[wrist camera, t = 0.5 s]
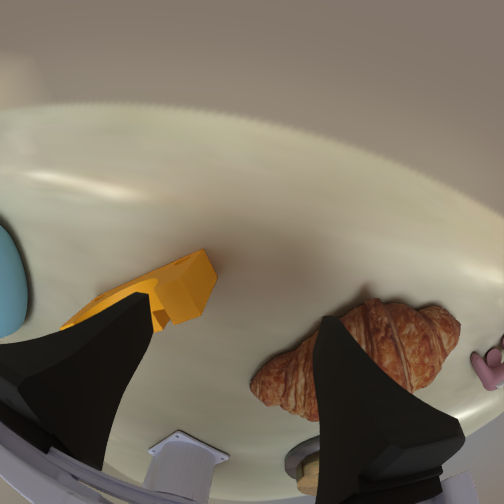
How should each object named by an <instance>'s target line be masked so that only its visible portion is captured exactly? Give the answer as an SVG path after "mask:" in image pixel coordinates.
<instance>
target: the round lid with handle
mask: <svg viewBox="0 0 504 504" xmlns="http://www.w3.org/2000/svg"><path fill="white" fill-rule="evenodd" d="M319 454H320V451H319V452H317V453H314V454H312V455H310V456H308V457H307V458H305V459H304V460H302V461H301V462H300V463H299V464H298V466H297V467H296V482H297V487H298V490H299V491H300V492H302V493H304V494H307V495H314V496H316V494H317V486H318V473H319Z"/></svg>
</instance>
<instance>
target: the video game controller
mask: <svg viewBox="0 0 504 504" xmlns="http://www.w3.org/2000/svg"><path fill="white" fill-rule="evenodd" d="M502 348H503V349H504V338H503V340H502ZM501 359H502V357H501V352H500V351H499V350H498V349H493V350H491V351H489V352H488V354H487V356H486V363H485V362H484V360H483V359H482V358H481V357H480V356H479V355H478V354H475V353H473V354H472V356H471V361H472V365H473V367H474V370H475V371H476V373H477V375H478V377H479V379H480V380H481V382H482V384H483V386H484V388H485V389H486V390H489V391H492V390H496V389H498V388H500V387H503V386H504V362H503V363H502V364H501Z"/></svg>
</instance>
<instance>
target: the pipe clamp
mask: <svg viewBox="0 0 504 504" xmlns="http://www.w3.org/2000/svg"><path fill="white" fill-rule="evenodd" d="M217 278H218V277H217V275H216V273H215V271H214V269H213V267H212V265H211V263H210V261H209V259H208V257H207V255H206V253H205V251H204V249H201V250H199V251H197V252H194V253H192V254H190V255H188V256H185V257H183V258H181V259H179V260H176V261H174V262H172V263H170V264H167V265H165V266H163V267H161V268H158V269H156V270H154V271H152V272H149V273H147V274H145V275H143V276H141V277H138V278H136V279H134V280H132V281H130V282H127V283H125V284H123V285H121V286H119V287H117V288H114V289H112V290H110V291H108V292H106V293H104V294H102V295H99V296H97V297H96V298H95V299H93V300H92V301H91V302H90V303H89V304H87V305H86V306H85V307H84V308H83V309H81V310H80V311H79V312H78V313H77V314H75V315H74V316H73V317H72V318H71V319H70V320H68V321H67V322H66V323H65V324H64V325H63V326H62V327H60V330H63V329H66V328H68V327H71V326H73V325H75V324H77V323H80V322H82V321H83V320H85V319H87V318H89V317H91V316H93V315H95V314H97V313H99V312H101V311H102V310H104V309H106V308H107V307H109V306H111V305H113V304H114V303H116V302H118V301H120V300H121V299H123V298H125V297H127V296H128V295H130V294H132V293H134V292H141V293H147V294H149V300H150V308H151V315H152V322H153V329H154V332H153V333H155V332H158V331H161V330H163V329H164V327H165V326H166V324H167V323H168V321H169V319H171V321H172V323H173V324H174V325H176V324H179V323H182V322H185V321H187V320H190V319H193V318H196V317H199V316H201V314H202V312H203V310H204V308H205V305H206V303H207V301H208V299H209V296H210V294H211V292H212V290H213V287H214V285H215V283H216V281H217Z"/></svg>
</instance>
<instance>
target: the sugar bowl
mask: <svg viewBox="0 0 504 504" xmlns="http://www.w3.org/2000/svg"><path fill="white" fill-rule="evenodd" d="M27 302H28V287H27V280H26V275H25V271H24V267H23V264H22V260H21V257H20V255H19V252H18V250H17V248H16V246H15V244H14V242H13V240H12V238H11V237H10V235H9V234H8V233H7V231H6V230H5V229H4V228H3V227H2V226H1V225H0V338H3V337H6V336H8V335H10V334H13V333H14V332H16V331H17V330H18V329H20V327H21V326H22V324H23V322H24V319H25V315H26V310H27Z"/></svg>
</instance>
